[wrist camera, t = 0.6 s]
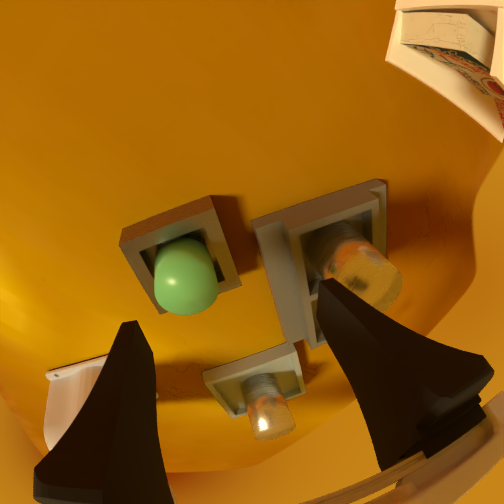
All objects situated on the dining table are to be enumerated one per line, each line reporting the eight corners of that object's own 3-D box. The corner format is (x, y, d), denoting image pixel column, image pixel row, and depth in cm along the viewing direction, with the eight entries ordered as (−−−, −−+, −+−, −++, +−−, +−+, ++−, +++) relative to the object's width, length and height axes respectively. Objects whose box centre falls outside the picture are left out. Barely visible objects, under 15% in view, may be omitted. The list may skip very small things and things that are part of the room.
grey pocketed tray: (283, 336, 27) (293, 356, 25) (250, 220, 20) (261, 239, 18) (376, 296, 28) (390, 313, 26) (376, 178, 21) (397, 191, 19)
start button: (168, 292, 20) (170, 322, 17) (145, 250, 18) (143, 278, 15) (218, 274, 20) (226, 302, 18) (200, 229, 18) (206, 254, 16)
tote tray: (229, 409, 33) (232, 418, 32) (201, 372, 28) (203, 383, 26) (302, 383, 33) (306, 392, 32) (291, 340, 28) (296, 351, 27)
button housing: (159, 296, 22) (160, 314, 20) (122, 229, 18) (118, 244, 16) (235, 268, 22) (242, 285, 20) (209, 195, 19) (214, 207, 17)
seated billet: (309, 274, 23) (347, 330, 18) (302, 230, 20) (345, 284, 15) (355, 255, 23) (399, 305, 18) (353, 211, 21) (404, 257, 16)
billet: (245, 397, 31) (260, 443, 26) (235, 381, 29) (250, 432, 24) (279, 386, 31) (297, 430, 26) (273, 368, 29) (292, 417, 24)
